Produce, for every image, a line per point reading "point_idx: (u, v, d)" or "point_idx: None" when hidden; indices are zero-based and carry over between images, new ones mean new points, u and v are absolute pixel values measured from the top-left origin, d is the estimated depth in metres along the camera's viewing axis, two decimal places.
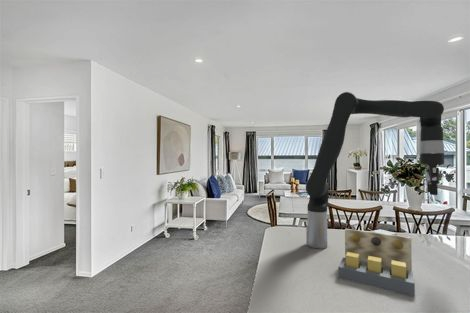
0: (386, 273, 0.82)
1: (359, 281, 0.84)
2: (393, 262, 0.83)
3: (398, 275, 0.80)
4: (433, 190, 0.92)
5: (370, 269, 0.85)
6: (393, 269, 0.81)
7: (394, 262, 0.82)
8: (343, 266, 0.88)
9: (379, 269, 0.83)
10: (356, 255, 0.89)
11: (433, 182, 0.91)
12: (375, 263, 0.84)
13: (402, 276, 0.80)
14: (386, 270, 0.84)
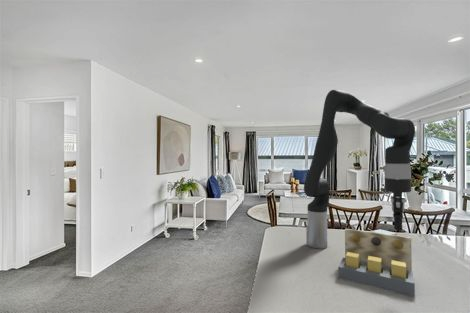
0: (386, 273, 0.82)
1: (359, 281, 0.84)
2: (393, 262, 0.83)
3: (398, 275, 0.80)
4: (397, 225, 0.80)
5: (370, 269, 0.85)
6: (393, 269, 0.81)
7: (394, 262, 0.82)
8: (343, 266, 0.88)
9: (379, 269, 0.83)
10: (356, 255, 0.89)
11: (396, 216, 0.79)
12: (375, 263, 0.84)
13: (402, 276, 0.80)
14: (386, 270, 0.84)
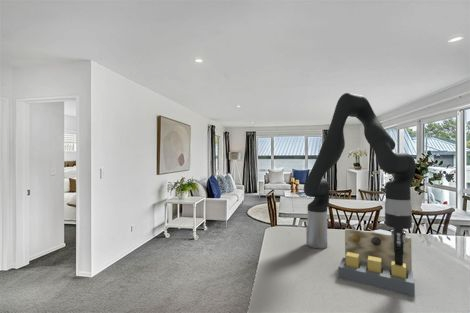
0: (386, 273, 0.82)
1: (359, 281, 0.84)
2: (393, 263, 0.83)
3: (398, 276, 0.80)
4: (398, 260, 0.81)
5: (370, 269, 0.85)
6: (393, 270, 0.81)
7: (394, 263, 0.82)
8: (343, 266, 0.88)
9: (379, 269, 0.83)
10: (356, 255, 0.89)
11: (397, 252, 0.80)
12: (375, 263, 0.84)
13: (402, 277, 0.80)
14: (386, 270, 0.84)
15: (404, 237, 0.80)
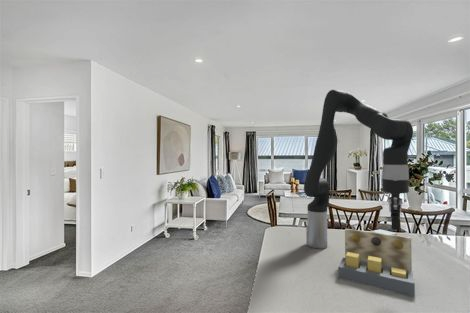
0: (386, 273, 0.82)
1: (359, 281, 0.84)
2: (393, 269, 0.83)
3: None
4: (394, 225, 0.82)
5: (370, 269, 0.85)
6: None
7: (394, 270, 0.82)
8: (343, 266, 0.88)
9: (379, 269, 0.83)
10: (356, 255, 0.89)
11: (394, 216, 0.80)
12: (375, 263, 0.84)
13: None
14: (386, 270, 0.84)
15: (401, 202, 0.80)
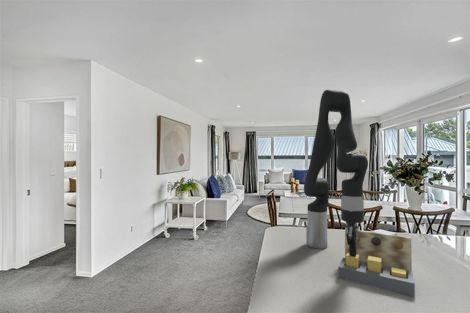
0: (386, 273, 0.82)
1: (359, 281, 0.84)
2: (393, 269, 0.83)
3: None
4: (351, 251, 0.88)
5: (370, 269, 0.85)
6: None
7: (394, 270, 0.82)
8: (343, 266, 0.88)
9: (379, 269, 0.83)
10: (356, 256, 0.89)
11: (350, 244, 0.87)
12: (375, 263, 0.84)
13: None
14: (386, 270, 0.84)
15: (356, 230, 0.87)
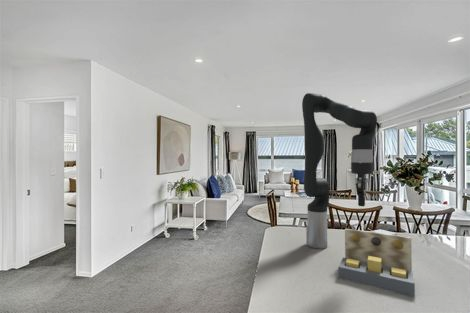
0: (386, 273, 0.82)
1: (359, 281, 0.84)
2: (393, 269, 0.83)
3: None
4: (360, 201, 0.94)
5: (370, 269, 0.85)
6: None
7: (394, 270, 0.82)
8: (343, 266, 0.88)
9: (379, 269, 0.83)
10: (356, 262, 0.89)
11: (359, 194, 0.93)
12: (375, 263, 0.84)
13: None
14: (386, 270, 0.84)
15: (365, 181, 0.93)
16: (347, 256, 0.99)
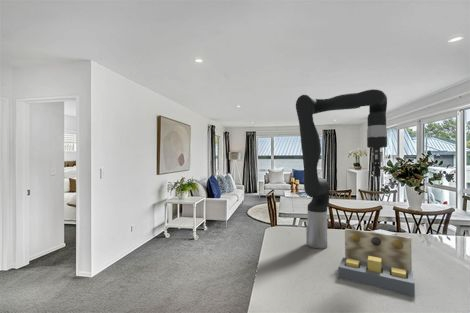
0: (386, 273, 0.82)
1: (359, 281, 0.84)
2: (393, 269, 0.83)
3: None
4: (376, 172, 1.04)
5: (370, 269, 0.85)
6: None
7: (394, 270, 0.82)
8: (343, 266, 0.88)
9: (379, 269, 0.83)
10: (356, 262, 0.89)
11: (375, 165, 1.03)
12: (375, 263, 0.84)
13: None
14: (386, 270, 0.84)
15: (381, 154, 1.03)
16: (347, 256, 0.99)
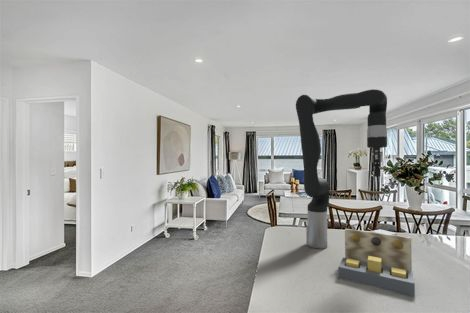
0: (386, 273, 0.82)
1: (359, 281, 0.84)
2: (393, 269, 0.83)
3: None
4: (376, 172, 1.04)
5: (370, 269, 0.85)
6: None
7: (394, 270, 0.82)
8: (343, 266, 0.88)
9: (379, 269, 0.83)
10: (356, 262, 0.89)
11: (375, 165, 1.03)
12: (375, 263, 0.84)
13: None
14: (386, 270, 0.84)
15: (381, 154, 1.03)
16: (347, 256, 0.99)
